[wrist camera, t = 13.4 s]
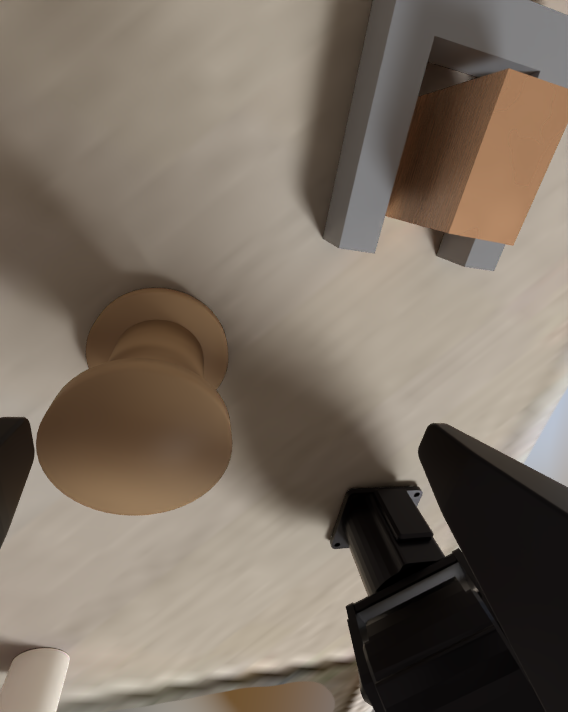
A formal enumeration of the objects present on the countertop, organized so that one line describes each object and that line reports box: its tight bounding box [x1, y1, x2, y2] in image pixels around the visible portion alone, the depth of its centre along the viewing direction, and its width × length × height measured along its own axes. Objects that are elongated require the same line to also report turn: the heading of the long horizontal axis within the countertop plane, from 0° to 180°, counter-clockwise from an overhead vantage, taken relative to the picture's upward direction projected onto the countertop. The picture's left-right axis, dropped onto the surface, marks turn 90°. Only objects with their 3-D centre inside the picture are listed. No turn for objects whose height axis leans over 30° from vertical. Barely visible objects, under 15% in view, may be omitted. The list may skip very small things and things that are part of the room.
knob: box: [36, 288, 232, 515], centre depth 16 cm, size 7×7×8 cm
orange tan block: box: [385, 68, 568, 245], centre depth 15 cm, size 5×3×6 cm, turn 169°
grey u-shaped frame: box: [323, 0, 568, 271], centre depth 16 cm, size 10×9×2 cm
